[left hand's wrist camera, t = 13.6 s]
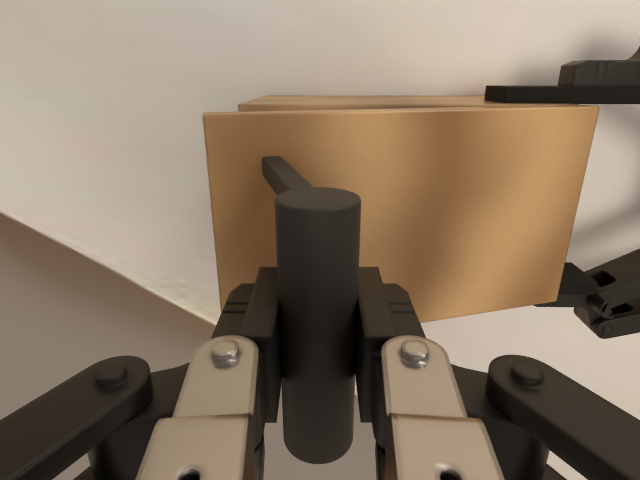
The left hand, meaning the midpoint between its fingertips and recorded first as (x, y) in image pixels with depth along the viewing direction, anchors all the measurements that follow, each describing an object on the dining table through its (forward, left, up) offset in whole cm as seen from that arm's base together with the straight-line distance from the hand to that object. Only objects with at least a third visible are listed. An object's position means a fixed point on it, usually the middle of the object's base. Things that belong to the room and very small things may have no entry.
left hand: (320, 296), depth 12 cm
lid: (+4, 0, -7) cm, 8 cm away
